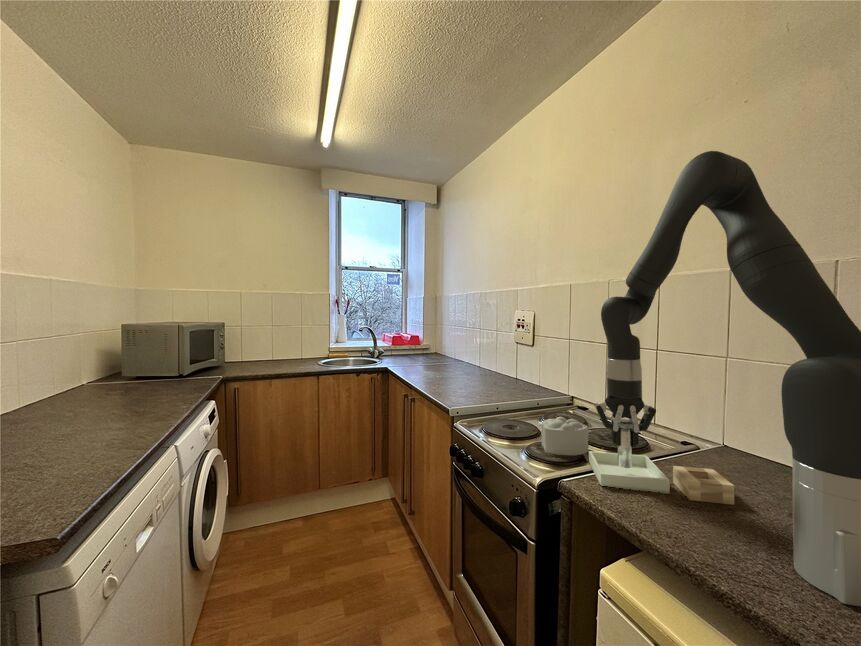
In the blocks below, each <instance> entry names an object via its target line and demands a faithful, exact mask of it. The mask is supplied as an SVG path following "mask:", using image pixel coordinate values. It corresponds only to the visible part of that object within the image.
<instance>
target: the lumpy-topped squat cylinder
mask: <svg viewBox="0 0 861 646" xmlns="http://www.w3.org/2000/svg"><path fill="white" fill-rule="evenodd" d="M540 422H541V423H540V425H541V430H540V432H541V433H540V434H541V446H542V447H543V450H544V451H545V452H546V453H547V454H551V455H557V456H580V455H584V454H587V453H589V428H588V426H587V425H586V424H584V423H582V422H580V421H578V420H577V419H574V418H570V419H566V418H565V417H564V416H558V417H556V418H548V419H545V420H543V421H540Z"/></svg>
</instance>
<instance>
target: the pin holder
mask: <svg viewBox="0 0 861 646" xmlns="http://www.w3.org/2000/svg"><path fill="white" fill-rule="evenodd" d="M672 482H673V484H674V485H675V486H676V487H677V488H678V489H679V490H680V491H681V492H682V493H683V495H684V496H685V497H686V496H687V497H686V498H687V499H688V500H689V501H695V502H706V503H714V504H715V503H716V504H723V505H735V485H734V484H733V483H731V482H730V481H729V480H728V479H726V478H725V477H724V476H722V475H721V474H720V473H718V472H717V471H716V470H715V469H713V468H706V467H705V468H704V467H694V466H693V467H691V466H680V465H679V466H678V465H673V466H672Z"/></svg>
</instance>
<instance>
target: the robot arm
mask: <svg viewBox="0 0 861 646" xmlns="http://www.w3.org/2000/svg"><path fill="white" fill-rule="evenodd" d="M701 206H704V207H706V208H707V209H709V210H710V211H711V213H712V214H713V215H714V216H715V217H716V219H717V221H718V223H719V224H720V225H721V227H722V228H723V230H724V232H725V237H726V258H727V263H728V266H729V268H730V271H731V273H732V275H733V276H734V278H735V280H736V282H737V284H738V285H739V288H740V289H741V290H742V293H743V294H744V295H745V296H746V298H747V299H748V300H749V301H750V302H751V303H752V304H754V306H756V307H757V308H758V309H759V310H760V311H762V313H764V314H765V315H766V316H768V317H769V318H771V319H772V320H773V321H774V322H776V323H777V324H778V325H780V326H781V327H782V328H783V329H784V330H786V331H787V333H789V335H790V336H792V338H793V339H794V340H795V342H796V343H797V344H798V346H799V347H800V349H801V351H802V352H803V353H804V356H805V357H806V358H804V359H800V360H798V361H795V362H794V363H792V364H791V365H790V366H789V367H788V368H787V370H785V372H784V375H783V377H782V381H781V407H782V419H783V429H784V434H785V437H786V439H787V441H788V443H789V445H790V447H791V452H792V453H791V454H792V455H791V456H792V458H791V459H792V461H791V463H792V465H791V466H792V468H791V469H792V542H793V544H792V545H793V546H792V548H793V567H794V570H795V571H796V573H797V574H798V575H799V576H800V577H801V578H803V580H805V582H807V583H808V584H811V585H812V586H813V587H815V588H817V589H819V590H820V591H823V592H824V593H826V594H828V595H830V596H832V597H834V598H835V599H836V600H837V601H839V602H840V603H841V604H845V605H849V606H855V607H861V330H860V329H859V327H858V326H857V325H856V324H855V323H854V321H853V320H852V318H850V316H849V315H848V313H847V312H846V310H845V309H844V307H843V306H842V304H841V303H840V301H839V300H838V298H837V297H836V295H835V293H833V291H832V289H830V286H829V285H828V284H827V283H826V282H825V280H824V279H823V277H822V276H821V274H820V273H819V271H818V269H817V268H816V266H815V264H814V262H813V261H812V259H811V258H810V257H809V256H808V254H807V252H806V251H805V250H804V247H802V245H801V244H800V243H799V241H798V240H797V239H796V238H795V237H794V235H793V233H792V232H791V231H790V230H789V228H788V227H787V225H786V224H785V223H784V222H783V221H782V220H781V218H780V217H779V216H778V215H777V214H776V212H775V211H773V209H772V207H771V206H770V204H769V203H768V201H767V199H766V196H765V195H764V193H763V190H762V189H761V186H760V184H759V182H758V179H757V177H756V175H755V173H754V171H753V170H752V168H751V167H750V165H749V164H748V163H747V162H746V161H744V160H742V159H740V158H737V157H735V156H733V155H730V154H727V153H725V152H722V151H718V150H710V151H709V150H708V151H705V152H702V153H700V154H697V155H696V156H695V157H693V158H692V159H691V160H690V161H689V162H688V163H687V164H686V165H685V166H684V168H682V170H681V171H680V174H679V176H678V177H677V179H676V182H675V184H674V186H673V188H672V190H671V191H670V195H669V197H668V200H667V202H666V204H665V205H664V208H663V210H662V212H661V213H660V214H661V215H660V217H659V219H658V221H657V224H656V226H655V228H654V231H653V232H652V235H651V237H650V238H649V241H648V243H647V244H646V246H645V248H644V250H643V251H642V253H641V254H640V256H639V258H638V259H637V260H636V262H635V264H633V267H632V268H631V270H630V271H629V273H628V275H627V276H626V279H625V284H626V286H627V287H628V289H627V292H626V294H625V295H624V296H612V297H609V298H608V299H606V300H605V301H604V302H603V304H602V307H601V310H600V319H601V324H602V327H603V330H604V335H605V337H606V341H607V364H606V373H605V374H606V398H605V401H603V402H600V403H598V402H597V403H595V404H594V407H595V410H596V412H597V414H598V417H599V418H600V421H601V423H602V425H603V426H604V428H606V429H610V439H611V442H612V444H613V445H614V446H616V447H618V446H619V431H618V429H619V427H618V423H620V422H621V419H625V418H626V419H627V420H629V421H630V422H631V423H632V424H634V428H631V438H632V448H636V447H637V446H638V445H639V444H640V443H639V440H640V439H639V433H640V432H643V431H644V432H646V431H648V429H649V427H650V425H651V424H652V421H653V419H654V417H655V416H656V413H657V409H656V408H655V407H653V406H651V405H648V404H645V402H644V401H643V382H642V381H643V377H642V376H643V375H642V374H643V372H642V371H643V370H642V364H641V342H640V338H639V337H638V336H636V335H634V334H632V330H631V326H632V325H635V324H638V323H639V322H641V321H642V320H643V319H644V318H645V317H646V316H647V314H648V312H649V310H650V308H651V306H652V304H653V301H654V299H655V296H656V293H657V291H658V289H660V288H661V286H662V284H663V283H664V281H665V280H666V278H667V277H668V276H669V274H670V273H671V272H672V270H673V268H674V267H675V265H676V263H677V261H678V258H679V255H680V250H681V245H682V242H683V238H684V235H685V232H686V228H687V227H688V225H689V223H690V221H691V219H692V218H693V216H694V215H695V214H696V213H697V211H698V210H699V209H700V208H701ZM607 408H608V410H609V411H610V412H611V418H610V419H611V421H610V422H609V420H608V418H607V416H606V414H605V413H606V412H607ZM641 411H642V412H643V415H642V417H641V420H640V421H639V419H638V414H639V413H640V412H641Z"/></svg>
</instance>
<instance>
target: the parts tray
mask: <svg viewBox="0 0 861 646" xmlns="http://www.w3.org/2000/svg"><path fill="white" fill-rule="evenodd" d="M588 463H589V465H590V467H591V469H592V471H593V474H594V475H595V477H596V479H597V481H598V483H600V484H599V485H601V486H609V487H616V488H615V489H619V488H623V489H622V490H629V489H631V491H639V490H640V492H642V491H643V492H648V491H651V492H650V493H658V492H660V493H661V494H668V495H669V494H670V489H671V488H670V479H669V478H668V477H667V476H666V475H665V474H664V473H663V471H662V470H660V468H658V466H657V465H656V464H655V463H654V462H653V461H652V460H651V459H650V458H649V456H648V455H644V454H643V455H642V454H632V467H631V468H623V467H620V466H619V465H618V452H605V451H591V450H588ZM601 486H600V487H601ZM609 487H608V488H609Z"/></svg>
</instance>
